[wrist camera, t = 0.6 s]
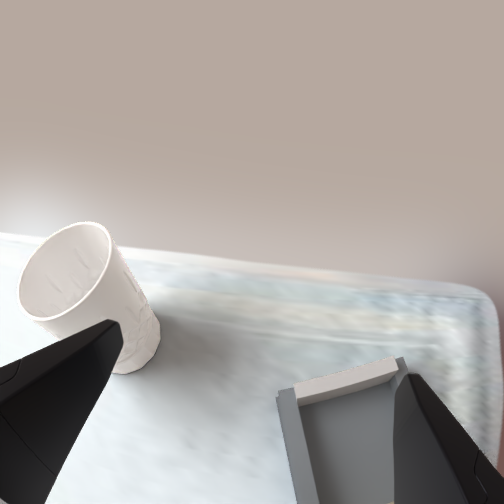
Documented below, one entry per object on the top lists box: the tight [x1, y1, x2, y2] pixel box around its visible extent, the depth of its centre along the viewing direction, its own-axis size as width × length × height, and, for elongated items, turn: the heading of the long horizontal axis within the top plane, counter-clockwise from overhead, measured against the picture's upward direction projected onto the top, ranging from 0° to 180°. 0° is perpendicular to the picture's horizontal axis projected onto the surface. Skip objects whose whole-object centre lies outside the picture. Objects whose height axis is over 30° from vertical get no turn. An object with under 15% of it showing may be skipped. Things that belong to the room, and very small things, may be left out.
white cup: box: [17, 222, 161, 374], centre depth 21 cm, size 8×8×10 cm
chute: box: [276, 356, 409, 504], centre depth 14 cm, size 15×9×3 cm, turn 9°
